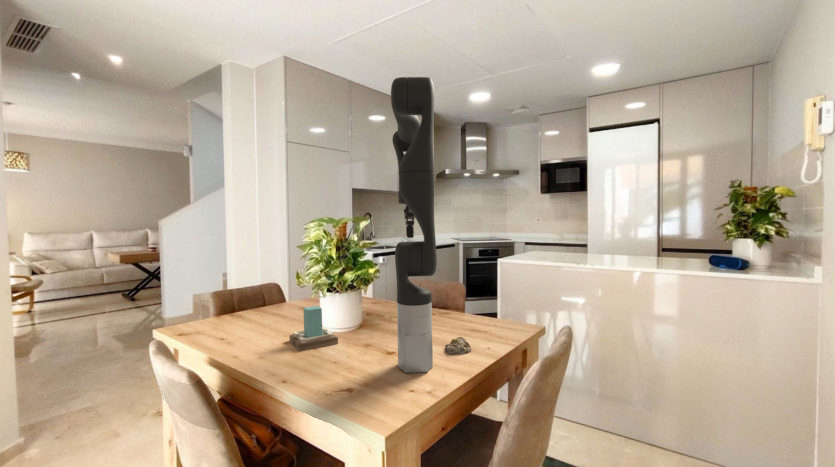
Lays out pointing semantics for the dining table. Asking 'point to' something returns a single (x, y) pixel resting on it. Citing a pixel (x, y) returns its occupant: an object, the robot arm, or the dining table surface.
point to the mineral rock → (458, 346)
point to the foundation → (312, 340)
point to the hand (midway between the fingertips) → (409, 237)
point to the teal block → (312, 321)
